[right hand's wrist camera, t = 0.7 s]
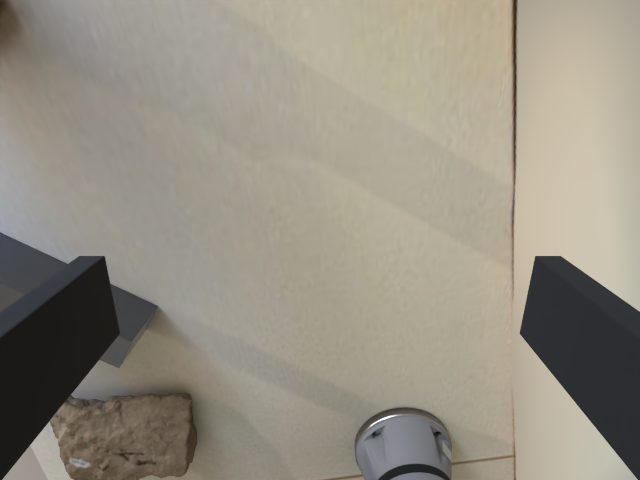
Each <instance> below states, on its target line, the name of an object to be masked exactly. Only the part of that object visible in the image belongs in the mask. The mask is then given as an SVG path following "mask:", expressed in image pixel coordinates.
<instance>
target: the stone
mask: <svg viewBox="0 0 640 480" xmlns="http://www.w3.org/2000/svg"><path fill="white" fill-rule="evenodd" d="M191 403H192V398H191V396H190V394H188V393H184V394H172V395H166V396H160V395H154V394H148V395H142V396H139V397H133V396H113V397H110V398H109V400H108V401H107V402H102V401H100V400H96V399H91V400H86V399H80V398H76V399H75V398H73V397H72V396H71V395H70V396H69V397H68V399H67V400H66V401H65V402H64V404H63V405H62V406H61V407H60V409H59V410H58V411H57V412H56V414H55V415H54V416H53V417H52V418H51V420H50V424H51V426H52V427H53V432H54V434H55V437H57V438H58V445H59V447H60V457H61V460H62V461H63V463H64V465H65V469H66V471H67V473H68V474H69V477H70V478H71V479H74V480H138V479H140V478H142V477H146V476H148V475H155V476H158V477H159V478H163V477H166V476H176V477H181V476H183V475H184V474H185V473H186V472H187V469H188V467H189V463H191V462H192V460H193V456H194V451H195V447H196V444H197V434H196V429H195V427H194V425H193V417H192V407H191Z"/></svg>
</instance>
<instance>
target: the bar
mask: <svg viewBox="0 0 640 480" xmlns="http://www.w3.org/2000/svg"><path fill="white" fill-rule="evenodd" d="M66 265H68V264H66V263H64V262H62V261H60V260H58V259H56V258H53V257H51V256H49V255H47V254H45V253H43V252H40V251H38V250H36V249H34V248H32V247H30V246H28V245H25V244H23V243H21V242H19V241H17V240H15V239H13V238H10V237H8V236H6V235H4V234H2V233H0V312H1V311H2V310H4V309H5V308H7V307H8V306H9V305H11V304H12V303H14V302H15V301H16V300H18V299H19V298H21V297H22V296H24V295H25V294H26V293H28V292H29V291H31V290H32V289H33V288H35V287H36V286H38V285H39V284H41V283H42V282H43V281H45V280H46V279H48V278H49V277H51V276H52V275H53V274H55V273H56V272H58V271H59V270H60V269H62V268H63V267H65V266H66ZM110 285H111V284H110ZM111 290H112V295H113V300H114V305H115V310H116V315H117V320H118V325H119V330H120V334H119V336H118V337H117V338H116V339H115V341H114V342H113V343H112V344H111V346H110V347H109V348H108V349H107V351H106V352H105V353H104V354H103V355H102V357H101V358H100V359H99V360H102V361H104V362H106V363H109V364H111V365H113V366H116V367H118V368H119V367H120V366H121V364H122V363H123V362H124V360H125V359H126V357H127V356H128V355H129V353H130V352H131V350H132V349H133V347H134V346H135V345H136V343H137V342H138V340H139V339H140V338H141V336H142V335H143V333H144V332H145V330H146V329H147V327H148V325H149V323H150V321H151V319H152V317H153V315H154V313H155V311H156V309H157V307H158V306H156V305H154V304H152V303H150V302H148V301H146V300H143V299H141V298H139V297H137V296H135V295H133V294H131V293H128V292H126V291H124V290H122V289H120V288H118V287H116V286H113V285H111Z"/></svg>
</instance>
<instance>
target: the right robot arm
mask: <svg viewBox="0 0 640 480" xmlns="http://www.w3.org/2000/svg"><path fill="white" fill-rule="evenodd" d="M119 334H120V330H119V325H118V320H117V315H116V310H115V305H114V300H113V295H112V290H111V285H110V281H109V276H108V271H107V266H106V261H105V256H79V257H77V258H76V259H75V260H73V261H72V262H70V263H69V264H68V265H66V266H65V267H63V268H62V269H60V270H59V271H58V272H56V273H55V274H53V275H52V276H51V277H49V278H48V279H46V280H45V281H43V282H42V283H41V284H39V285H38V286H36V287H35V288H33V289H32V290H31V291H29V292H28V293H26V294H25V295H24V296H22V297H21V298H19V299H18V300H16V301H15V302H14V303H12V304H11V305H9V306H8V307H7V308H5V309H4V310H2V311H1V312H0V480H2V479H3V478H4V476H5V475H6V474H7V473H8V472H9V470H10V469H11V468H12V467H13V465H14V464H15V463H16V462H17V460H18V459H19V458H20V457H21V456H22V454H23V453H24V452H25V451H26V449H27V448H28V447H29V446H30V444H31V443H32V442H33V441H34V439H35V438H36V437H37V436H38V435H39V433H40V432H41V431H42V430H43V428H44V427H45V426H46V425H47V423H48V422H49V421H50V420H51V418H52V417H53V416H54V415H55V414H56V412H57V411H58V410H59V409H60V407H61V406H62V405H63V404H64V402H65V401H66V400H67V399H68V397H69V396H70V395H71V394H72V393H73V391H74V390H75V389H76V388H77V386H78V385H79V384H80V383H81V381H82V380H83V379H84V378H85V376H86V375H87V374H88V373H89V372H90V370H91V369H92V368H93V367H94V365H95V364H96V363H97V362H98V360H99V359H100V358H101V357H102V355H103V354H104V353H105V352H106V351H107V349H108V348H109V347H110V346H111V344H112V343H113V342H114V341H115V339H116V338H117V337H118V336H119ZM520 334H521V336H522V337H523V338H524V339H525V341H526V342H527V343H528V344H529V346H530V347H531V348H532V349H533V351H534V352H535V353H536V354H537V355H538V357H539V358H540V359H541V360H542V362H543V363H544V364H545V365H546V367H547V368H548V369H549V370H550V372H551V373H552V374H553V375H554V376H555V378H556V379H557V380H558V381H559V383H560V384H561V385H562V386H563V388H564V389H565V390H566V391H567V393H568V394H569V395H570V396H571V397H572V399H573V400H574V401H575V402H576V404H577V405H578V406H579V407H580V409H581V410H582V411H583V412H584V414H585V415H586V416H587V417H588V418H589V420H590V421H591V422H592V423H593V425H594V426H595V427H596V428H597V430H598V431H599V432H600V433H601V435H602V436H603V437H604V438H605V439H606V441H607V442H608V443H609V444H610V446H611V447H612V448H613V449H614V451H615V452H616V453H617V454H618V456H619V457H620V458H621V459H622V460H623V462H624V463H625V464H626V465H627V467H628V468H629V469H630V470H631V472H632V473H633V474H634V475H635V477H636V478H637V479H638V480H640V312H639V311H638V310H636V309H635V308H633V307H632V306H631V305H629V304H628V303H626V302H625V301H624V300H622V299H621V298H619V297H618V296H616V295H615V294H613V293H612V292H611V291H609V290H608V289H606V288H605V287H604V286H602V285H601V284H599V283H598V282H597V281H595V280H594V279H592V278H591V277H589V276H588V275H587V274H585V273H584V272H582V271H581V270H580V269H578V268H577V267H575V266H574V265H572V264H571V263H570V262H568V261H567V260H565V259H564V258H562V257H561V256H536V257H535V261H534V266H533V271H532V276H531V281H530V285H529V290H528V295H527V300H526V305H525V310H524V315H523V320H522V325H521V330H520ZM355 454H356V461H357V464H358V466H359V468H360V470H361V473H362V475H363V477H364V479H365V480H451V463H452V446H451V441H450V438H449V436H448V433H447V430H446V428H445V426H444V425H443V424H442V422H441V421H440V420H439V419H438V418H436V417H435V416H433V415H432V414H430V413H428V412H425V411H423V410H419V409H414V408H396V409H391V410H387V411H384V412H381V413H379V414H377V415H375V416H373V417H372V418H370V419H369V420H368V421H367V422H366V423H365V424H364V425H363V426H362V427H361V429H360V430H359V432H358V434H357V436H356V440H355Z"/></svg>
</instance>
